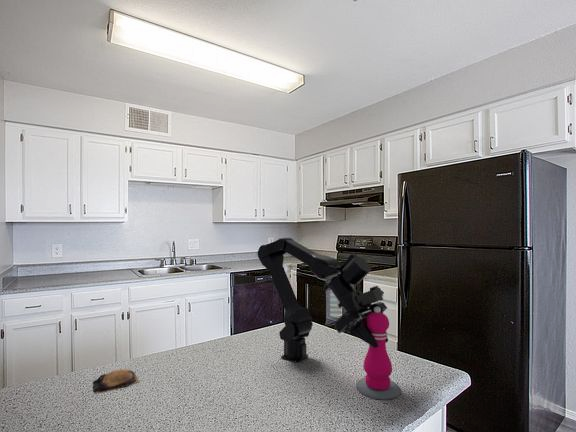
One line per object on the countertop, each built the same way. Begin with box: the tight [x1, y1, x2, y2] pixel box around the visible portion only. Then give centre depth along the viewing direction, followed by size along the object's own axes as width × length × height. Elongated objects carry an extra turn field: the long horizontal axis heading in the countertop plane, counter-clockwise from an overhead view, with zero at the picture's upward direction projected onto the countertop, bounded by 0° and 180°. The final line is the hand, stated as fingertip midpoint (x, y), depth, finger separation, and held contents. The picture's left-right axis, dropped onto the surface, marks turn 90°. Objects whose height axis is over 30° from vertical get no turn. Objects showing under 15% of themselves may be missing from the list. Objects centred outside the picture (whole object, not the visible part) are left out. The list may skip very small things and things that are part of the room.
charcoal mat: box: [356, 377, 401, 401], centre depth 84 cm, size 11×11×1 cm
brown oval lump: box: [92, 368, 140, 394], centre depth 87 cm, size 11×8×4 cm
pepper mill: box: [363, 306, 393, 390], centre depth 85 cm, size 7×7×20 cm
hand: (382, 344), depth 84 cm, fingers closed on pepper mill, 5 cm apart
